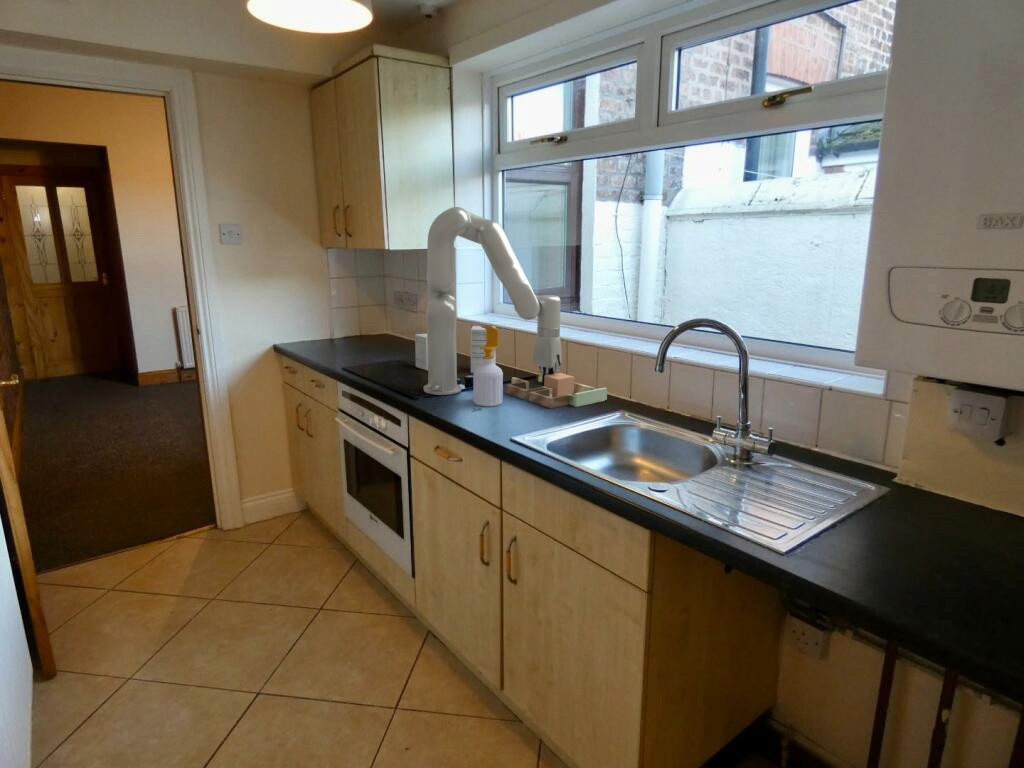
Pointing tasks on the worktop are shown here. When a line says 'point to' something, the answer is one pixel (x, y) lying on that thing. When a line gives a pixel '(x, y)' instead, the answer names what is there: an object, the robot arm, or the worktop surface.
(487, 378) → the soap bottle
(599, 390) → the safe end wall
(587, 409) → the worktop surface
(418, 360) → the small box
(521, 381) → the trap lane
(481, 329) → the supplement box
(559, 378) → the block
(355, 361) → the worktop surface
